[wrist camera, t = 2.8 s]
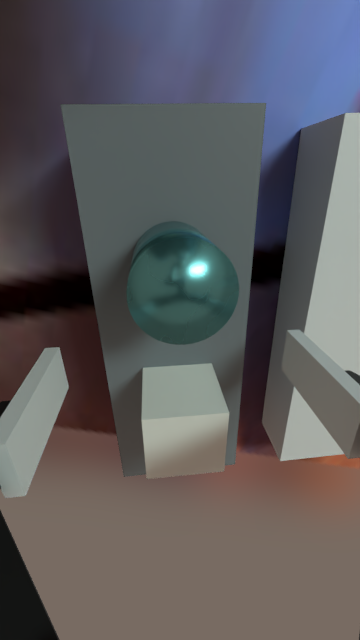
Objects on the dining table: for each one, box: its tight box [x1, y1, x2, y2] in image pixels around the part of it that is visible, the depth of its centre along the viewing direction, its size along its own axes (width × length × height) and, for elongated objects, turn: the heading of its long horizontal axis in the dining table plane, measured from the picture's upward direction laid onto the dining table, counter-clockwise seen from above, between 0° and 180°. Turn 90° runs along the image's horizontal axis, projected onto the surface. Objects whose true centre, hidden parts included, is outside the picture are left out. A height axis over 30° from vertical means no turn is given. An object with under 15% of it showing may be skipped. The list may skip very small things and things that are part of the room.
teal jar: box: [126, 221, 239, 345], centre depth 13 cm, size 4×4×5 cm
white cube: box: [142, 363, 229, 479], centre depth 17 cm, size 4×4×4 cm
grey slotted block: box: [61, 103, 266, 477], centre depth 21 cm, size 24×9×8 cm, turn 1°
